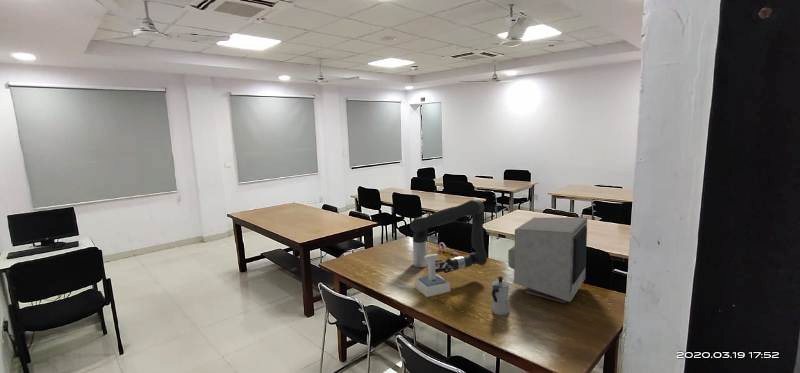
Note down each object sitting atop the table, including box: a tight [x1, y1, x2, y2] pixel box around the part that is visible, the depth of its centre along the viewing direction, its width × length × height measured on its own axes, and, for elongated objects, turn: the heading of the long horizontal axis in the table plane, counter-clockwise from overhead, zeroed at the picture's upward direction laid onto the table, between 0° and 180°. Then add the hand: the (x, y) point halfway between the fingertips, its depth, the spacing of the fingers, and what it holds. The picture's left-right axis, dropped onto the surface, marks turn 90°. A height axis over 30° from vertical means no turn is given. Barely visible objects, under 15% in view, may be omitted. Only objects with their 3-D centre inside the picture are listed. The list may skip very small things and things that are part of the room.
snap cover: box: [418, 253, 446, 287], centre depth 212 cm, size 11×11×16 cm
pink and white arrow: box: [438, 242, 460, 256], centre depth 275 cm, size 7×1×20 cm
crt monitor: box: [507, 217, 588, 304], centre depth 203 cm, size 35×37×40 cm
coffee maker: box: [491, 275, 511, 316], centre depth 183 cm, size 15×9×18 cm, turn 141°
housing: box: [414, 273, 451, 298], centre depth 213 cm, size 15×15×5 cm
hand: (431, 268), depth 212 cm, fingers open, 8 cm apart
